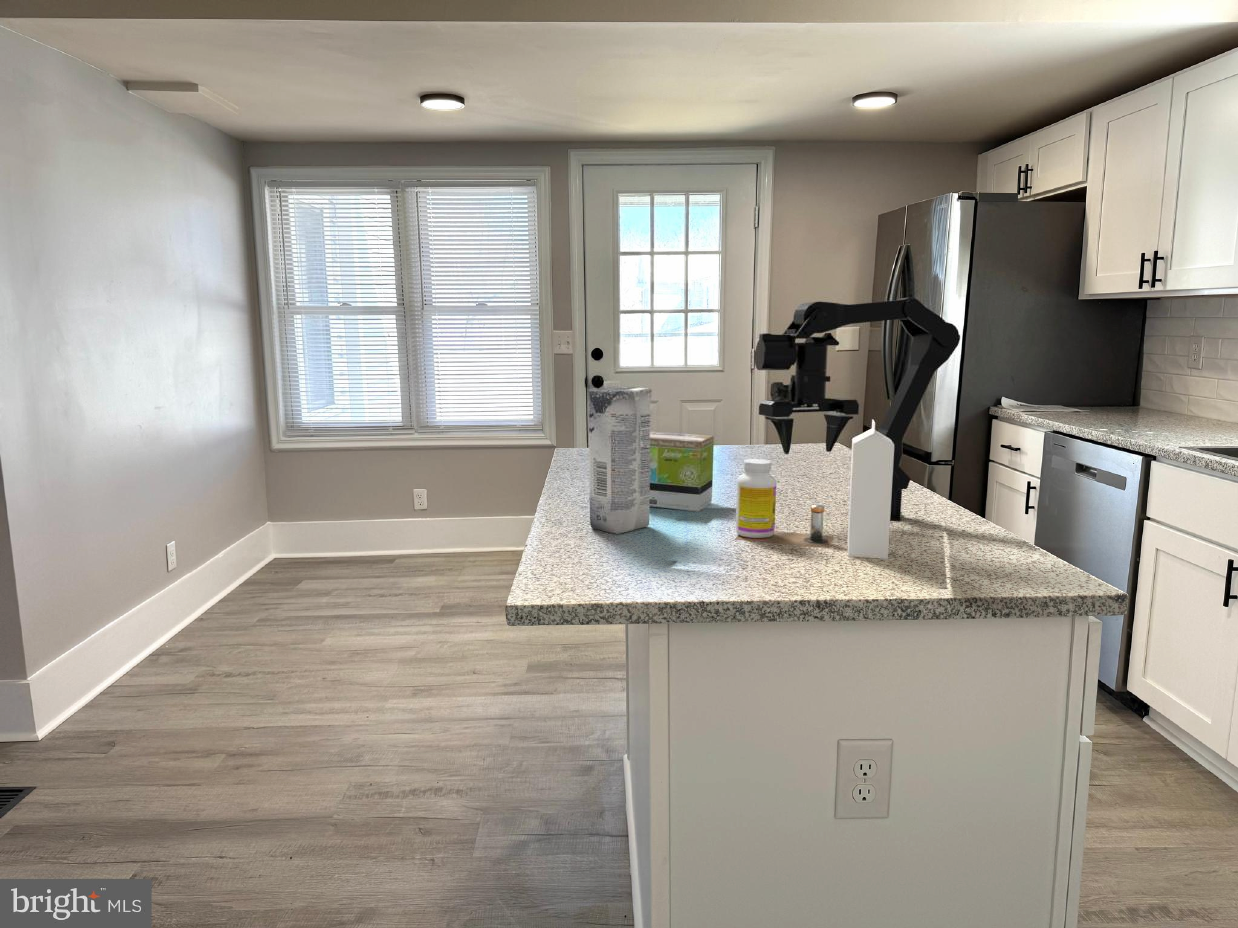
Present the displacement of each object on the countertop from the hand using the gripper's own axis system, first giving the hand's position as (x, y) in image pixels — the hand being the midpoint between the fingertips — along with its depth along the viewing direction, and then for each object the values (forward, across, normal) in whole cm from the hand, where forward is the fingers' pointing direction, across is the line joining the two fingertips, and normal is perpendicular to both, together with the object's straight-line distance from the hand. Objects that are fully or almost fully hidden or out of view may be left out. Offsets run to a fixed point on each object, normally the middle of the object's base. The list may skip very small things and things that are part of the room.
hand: (807, 452), depth 152 cm
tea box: (+13, +19, -21) cm, 31 cm away
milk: (+13, +6, +27) cm, 30 cm away
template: (+13, +13, +14) cm, 23 cm away
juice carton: (+13, +36, -5) cm, 39 cm away
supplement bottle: (+12, +17, +11) cm, 24 cm away
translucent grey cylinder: (+12, +9, +18) cm, 23 cm away
